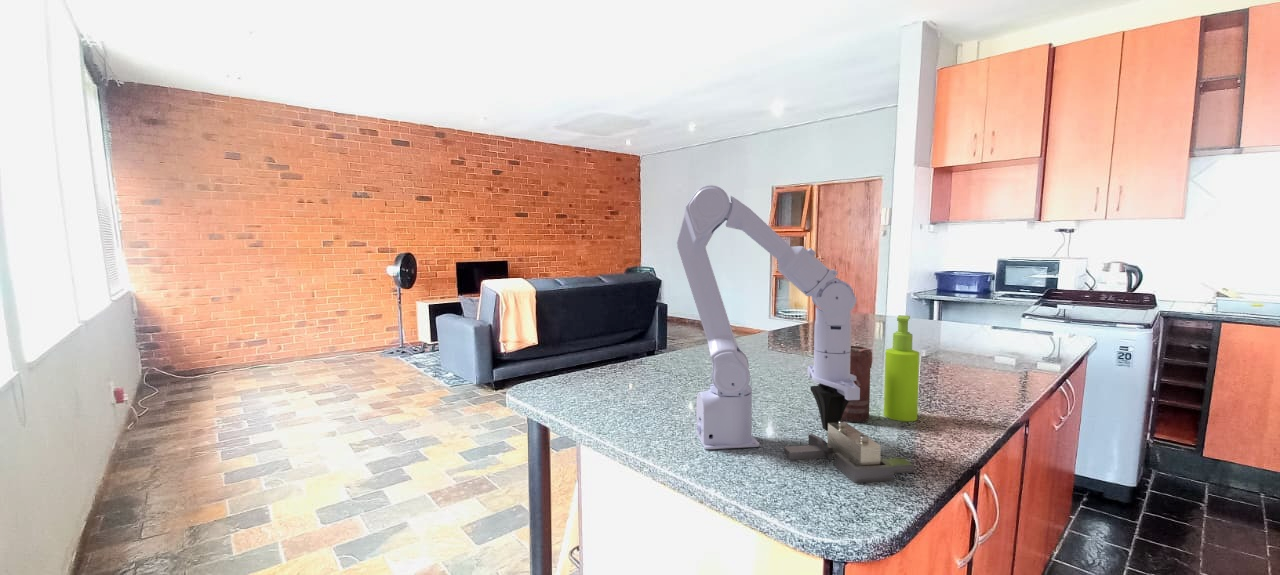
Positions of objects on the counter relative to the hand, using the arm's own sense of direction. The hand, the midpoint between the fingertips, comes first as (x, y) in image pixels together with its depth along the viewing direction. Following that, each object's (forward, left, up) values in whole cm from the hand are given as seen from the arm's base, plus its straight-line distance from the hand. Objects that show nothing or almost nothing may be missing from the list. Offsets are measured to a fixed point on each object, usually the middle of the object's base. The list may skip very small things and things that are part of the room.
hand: (830, 429), depth 84 cm
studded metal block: (0, -7, -3) cm, 8 cm away
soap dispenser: (+21, +13, -3) cm, 25 cm away
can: (+11, +13, -3) cm, 17 cm away
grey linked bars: (0, -6, -3) cm, 7 cm away
